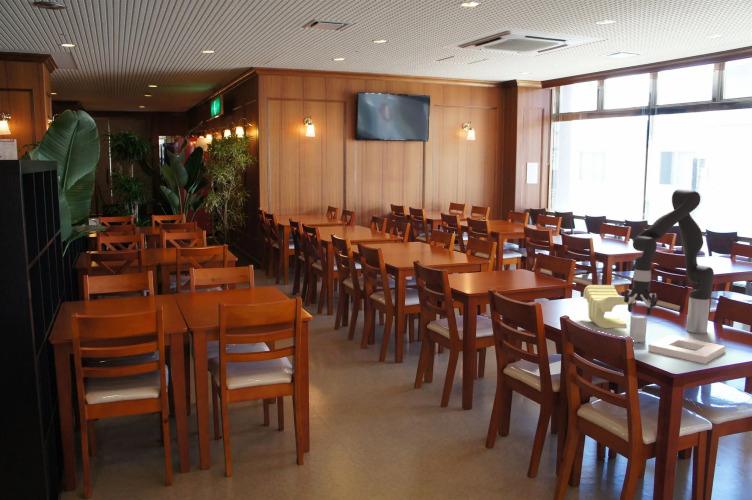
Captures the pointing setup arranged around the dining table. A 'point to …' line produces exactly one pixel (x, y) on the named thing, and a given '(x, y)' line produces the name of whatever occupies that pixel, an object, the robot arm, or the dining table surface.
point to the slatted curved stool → (603, 305)
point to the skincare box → (638, 328)
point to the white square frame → (701, 355)
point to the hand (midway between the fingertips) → (639, 313)
